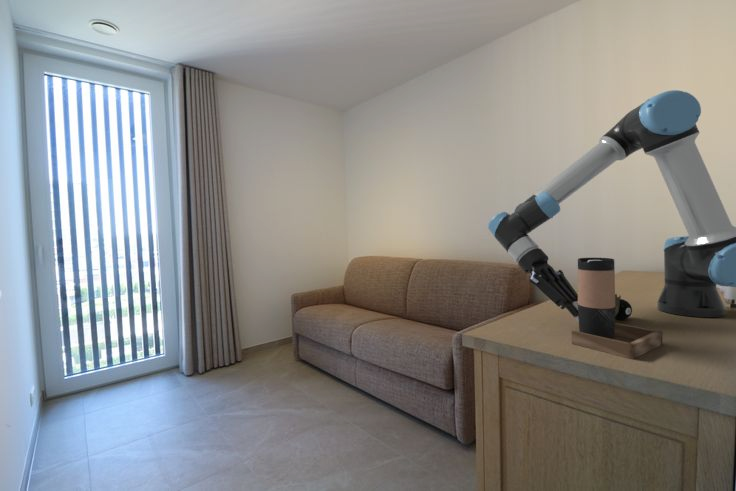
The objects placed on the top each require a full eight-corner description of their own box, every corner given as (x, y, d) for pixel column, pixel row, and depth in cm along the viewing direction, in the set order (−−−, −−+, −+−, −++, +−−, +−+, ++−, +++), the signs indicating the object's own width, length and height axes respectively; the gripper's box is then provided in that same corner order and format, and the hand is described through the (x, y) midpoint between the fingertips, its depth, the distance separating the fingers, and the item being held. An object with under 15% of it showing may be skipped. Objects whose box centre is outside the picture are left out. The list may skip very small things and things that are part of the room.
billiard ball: (620, 322, 98) (620, 301, 97) (601, 317, 103) (601, 297, 103) (637, 320, 99) (637, 300, 99) (617, 315, 105) (617, 296, 104)
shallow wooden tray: (602, 331, 90) (602, 320, 90) (662, 344, 80) (662, 331, 79) (571, 343, 83) (571, 331, 82) (632, 359, 72) (632, 345, 72)
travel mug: (611, 336, 86) (611, 257, 85) (619, 346, 79) (618, 260, 79) (576, 333, 90) (575, 257, 89) (580, 343, 83) (579, 260, 82)
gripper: (533, 262, 105) (592, 329, 91) (505, 266, 98) (564, 338, 84) (550, 245, 100) (615, 313, 86) (522, 248, 93) (587, 322, 80)
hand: (590, 325), depth 85 cm, fingers closed
